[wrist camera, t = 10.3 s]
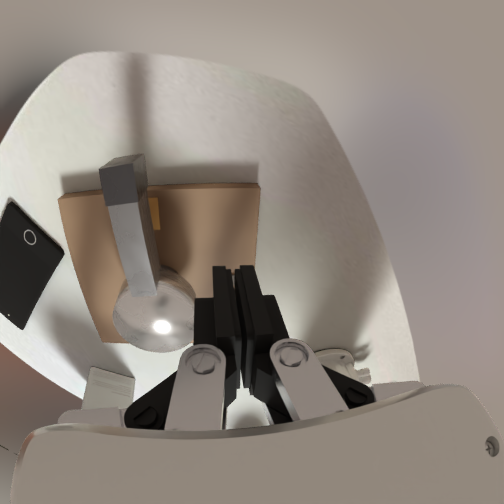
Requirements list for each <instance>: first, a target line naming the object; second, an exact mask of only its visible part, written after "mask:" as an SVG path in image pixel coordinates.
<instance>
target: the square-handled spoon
mask: <svg viewBox="0 0 504 504" xmlns="http://www.w3.org/2000/svg"><path fill="white" fill-rule="evenodd" d="M99 173H100V179H101V185H102V191H103V196H104V201H105V206H106V207H107V206H108V210H109V215H110V219H111V224H112V228H113V232H114V236H115V240H116V244H117V248H118V251H119V255H120V259H121V262H122V266H123V269H124V273H125V276H126V279H125V280H124V282H123V283H122V286H121V288H120V291H119V294H118V297H117V300H116V303H115V306H114V310H113V314H112V318H113V323H114V326H115V328H116V330H117V332H118V333H119V334H120V335H121V336H122V338H124V339H125V340H126V341H127V342H129V343H130V344H132V345H133V346H135V347H138V348H140V349H143V350H146V351H151V352H172V351H176V350H179V349H181V348H183V347H185V346H187V345H188V344H189V343H190V342H191V341H192V340H193V339H194V300H195V298H197V297H196V294H195V291H194V289H193V288H192V286H191V285H190V283H189V282H188V281H187V280H186V279H184V278H183V277H182V276H180V275H178V274H177V273H175V272H172V271H170V270H167V269H162V268H161V265H160V260H159V256H158V251H157V246H156V241H155V235H154V230H153V224H152V218H151V213H150V206H149V200H148V193H147V188H148V181H147V173H146V165H145V156H144V154H137V155H131V156H125V157H119V158H114V159H113V160H111V161H110V162H108V163H107V164H105V165H104V166H103V167H101V168H100V169H99Z"/></svg>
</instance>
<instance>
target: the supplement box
mask: <svg viewBox="0 0 504 504" xmlns="http://www.w3.org/2000/svg"><path fill="white" fill-rule="evenodd" d="M134 387H135V379H134V378H131V377H127V376H123V375H120V374H116V373H113V372H109V371H106V370H102V369H99V368H96V367H91V368H90V372H89V376H88V380H87V384H86V389H85V393H84V398H83V403H82V408H81V410H82V409H97V408H109V407H119V408H120V409H124V408H128V407H129V406H130V405H131V404H132V403H133V396H134Z"/></svg>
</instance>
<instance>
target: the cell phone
mask: <svg viewBox="0 0 504 504" xmlns="http://www.w3.org/2000/svg"><path fill="white" fill-rule="evenodd" d="M63 256H64V251H63V250H62V248H61V247H60V246H58V245H57V244H56V243H55V242H54V241H53V240H52V239H51V238H50V237H48V236H47V235H46V234H45V233H44V232H43V231H42V230H41V229H40V228H39V227H38V226H37V225H36V224H35V223H34V222H33V221H32V220H31V219H30V218H29V217H28V216H27V215H26V214H25V213H24V212H23V211H22V210H21V209H20V208H19V207H18V206H17V205H16V204H15V203H13V202H10V203H9V204H8V205H7V207H6V210H5V212H4V215H3V217H2V220H1V222H0V313H2V314H3V315H4V316H5V317H6V318H7V319H8V320H10V321H11V322H12V323H13V324H14V325H16V326H17V327H18V328H20V329H21V330H23V329H24V328H25V326H26V323H27V321H28V319H29V317H30V315H31V313H32V311H33V309H34V307H35V305H36V303H37V301H38V299H39V297H40V295H41V294H42V292H43V290H44V288H45V286H46V285H47V283H48V281H49V279H50V278H51V276H52V274H53V272H54V271H55V269H56V267H57V266H58V264H59V263H60V261H61V259H62V258H63Z"/></svg>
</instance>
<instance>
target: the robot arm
mask: <svg viewBox="0 0 504 504" xmlns="http://www.w3.org/2000/svg"><path fill="white" fill-rule="evenodd" d="M212 275H213V297H212V298H195V300H194V341H193V346H191V347H190V348H188V349H186V350H185V351H184V352H183V354H182V356H181V358H180V362H179V366H178V370H177V371H176V372H174V373H173V374H172V375H170V376H169V377H168V378H166V379H165V380H164V381H162V382H161V383H160V384H158V385H157V386H156V387H154V388H153V389H151V390H150V391H149V392H147V393H146V394H145V395H143V396H142V397H140V398H139V399H138V400H136V401H135V402H133V403H132V404H131V405H130V406H129V407H128V408H124V409H120V408H119V407H109V408H97V409H82V410H70V411H66V412H65V413H63V414H62V415H61V416H60V418H59V419H58V424H55V425H50V426H46V427H42V428H40V429H37V430H35V431H33V432H32V433H30V434H29V435H28V437H27V438H26V439H25V441H24V442H23V444H22V447H21V449H20V452H19V455H18V457H17V461H16V465H15V469H14V475H13V481H12V487H11V497H10V504H504V439H503V437H502V435H501V433H500V432H499V430H498V428H497V426H496V424H495V423H494V421H493V419H492V418H491V417H490V414H489V413H488V411H487V410H486V408H485V407H484V405H483V404H482V403H481V401H480V400H479V399H478V398H477V397H476V395H475V394H474V393H473V392H472V391H471V390H469V389H468V388H466V387H464V386H461V385H454V384H437V385H430V386H425V385H424V384H423V383H420V382H418V381H407V382H396V383H383V384H373V385H372V386H371V387H368V386H366V385H365V384H368V383H370V382H371V376H370V371H369V369H368V368H364V369H361V370H358V371H357V370H355V369H354V359H353V357H352V355H351V354H350V353H349V352H348V351H346V350H343V349H328V350H322V351H319V352H315V353H314V352H313V351H312V349H311V348H310V347H309V346H308V345H307V344H306V343H304V342H303V341H300V340H297V339H291V338H289V335H288V332H287V329H286V327H285V324H284V321H283V318H282V315H281V312H280V310H279V307H278V304H277V301H276V298H275V296H274V295H262V292H261V289H260V286H259V282H258V279H257V275H256V272H255V269H254V266H253V265H240V267H239V269H235V272H234V286H233V279H232V273H231V269H226V266H212ZM240 370H241V374H242V380H243V386H244V388H249V391H250V395H254V397H255V398H257V399H259V400H260V401H262V406H263V409H264V411H265V414H266V416H267V419H268V421H269V424H270V425H269V426H261V427H252V428H241V429H228V430H226V425H227V407H228V406H229V405H230V404H231V403H232V402H233V401H234V400H235V399H236V391H237V389H240Z"/></svg>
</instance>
